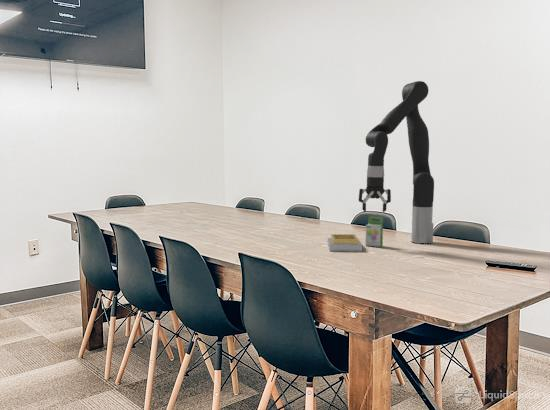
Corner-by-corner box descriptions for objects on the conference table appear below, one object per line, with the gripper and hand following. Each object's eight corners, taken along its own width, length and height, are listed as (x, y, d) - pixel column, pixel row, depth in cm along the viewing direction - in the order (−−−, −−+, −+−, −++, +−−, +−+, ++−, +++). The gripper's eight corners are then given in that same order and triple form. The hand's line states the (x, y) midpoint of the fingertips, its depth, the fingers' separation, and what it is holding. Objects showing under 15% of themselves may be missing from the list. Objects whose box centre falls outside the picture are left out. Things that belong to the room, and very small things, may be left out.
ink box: (365, 246, 246) (365, 217, 244) (368, 244, 249) (368, 216, 248) (380, 247, 243) (380, 218, 241) (382, 246, 246) (383, 217, 245)
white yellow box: (357, 246, 249) (358, 234, 249) (361, 253, 233) (362, 239, 233) (327, 246, 250) (327, 233, 249) (329, 252, 234) (329, 239, 233)
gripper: (390, 175, 246) (388, 211, 248) (358, 175, 247) (357, 210, 249) (392, 176, 239) (391, 213, 241) (360, 176, 240) (359, 212, 241)
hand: (374, 211), depth 245 cm, fingers open, 8 cm apart
